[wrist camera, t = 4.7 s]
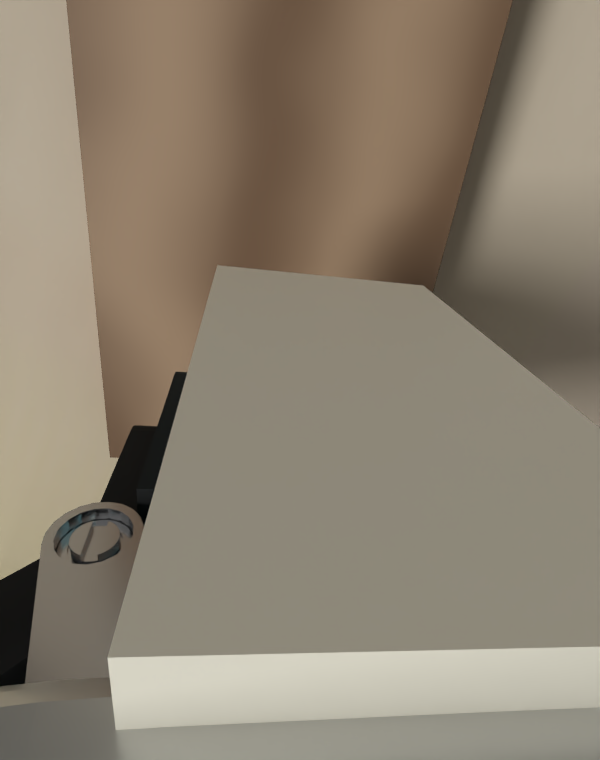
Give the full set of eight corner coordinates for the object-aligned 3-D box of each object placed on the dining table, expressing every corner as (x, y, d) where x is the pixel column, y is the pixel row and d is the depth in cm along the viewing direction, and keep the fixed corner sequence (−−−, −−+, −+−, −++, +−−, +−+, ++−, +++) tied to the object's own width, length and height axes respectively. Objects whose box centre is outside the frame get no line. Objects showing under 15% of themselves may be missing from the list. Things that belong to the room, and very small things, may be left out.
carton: (423, 285, 11) (863, 640, 3) (369, 502, 14) (520, 956, 6) (214, 264, 10) (97, 657, 2) (206, 498, 13) (143, 1004, 6)
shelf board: (578, -381, 11) (769, -665, 7) (374, 437, 22) (403, 502, 18) (41, -582, 9) (-112, -1137, 5) (121, 429, 20) (93, 500, 16)
